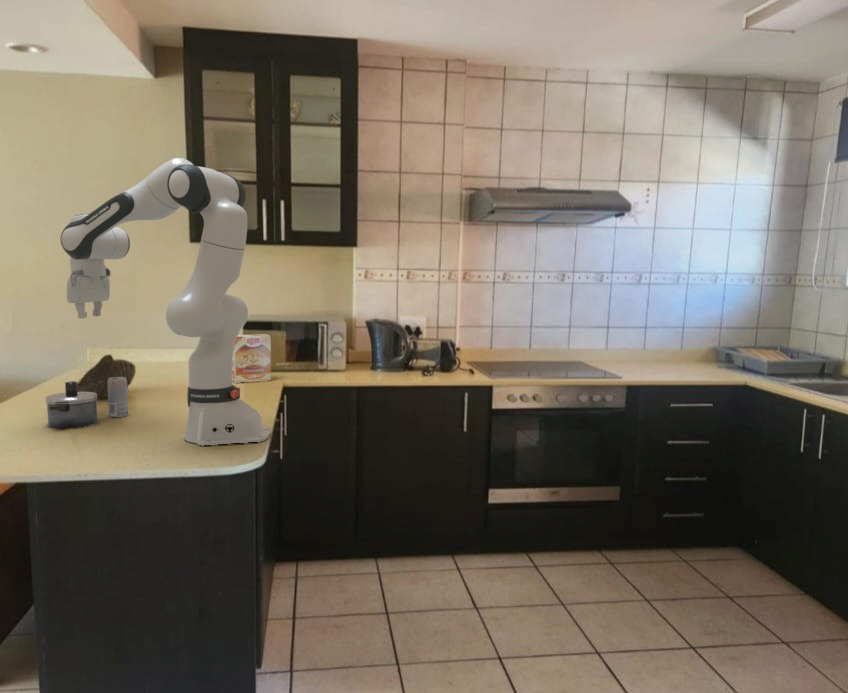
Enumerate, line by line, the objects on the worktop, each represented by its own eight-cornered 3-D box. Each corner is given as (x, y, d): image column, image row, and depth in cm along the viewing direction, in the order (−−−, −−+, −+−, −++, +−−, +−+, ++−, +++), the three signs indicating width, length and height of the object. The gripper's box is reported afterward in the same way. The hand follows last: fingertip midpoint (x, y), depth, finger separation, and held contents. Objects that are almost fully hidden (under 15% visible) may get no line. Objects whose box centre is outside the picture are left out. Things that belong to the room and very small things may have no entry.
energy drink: (123, 413, 196) (121, 376, 194) (131, 415, 192) (129, 378, 191) (106, 416, 191) (104, 378, 190) (113, 418, 188) (112, 380, 187)
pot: (108, 416, 190) (107, 392, 190) (82, 431, 173) (81, 404, 172) (64, 417, 189) (63, 392, 188) (33, 431, 172) (32, 404, 171)
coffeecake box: (235, 384, 251) (234, 336, 249) (231, 381, 257) (230, 334, 255) (271, 381, 259) (271, 335, 256) (266, 378, 265) (266, 333, 262)
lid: (104, 394, 187) (103, 378, 187) (84, 402, 174) (83, 386, 174) (60, 394, 186) (59, 378, 186) (36, 403, 173) (35, 386, 173)
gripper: (82, 270, 171) (85, 319, 173) (113, 271, 192) (114, 315, 193) (59, 269, 171) (61, 319, 172) (91, 270, 191) (93, 315, 193)
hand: (89, 317), depth 183 cm, fingers open, 8 cm apart
